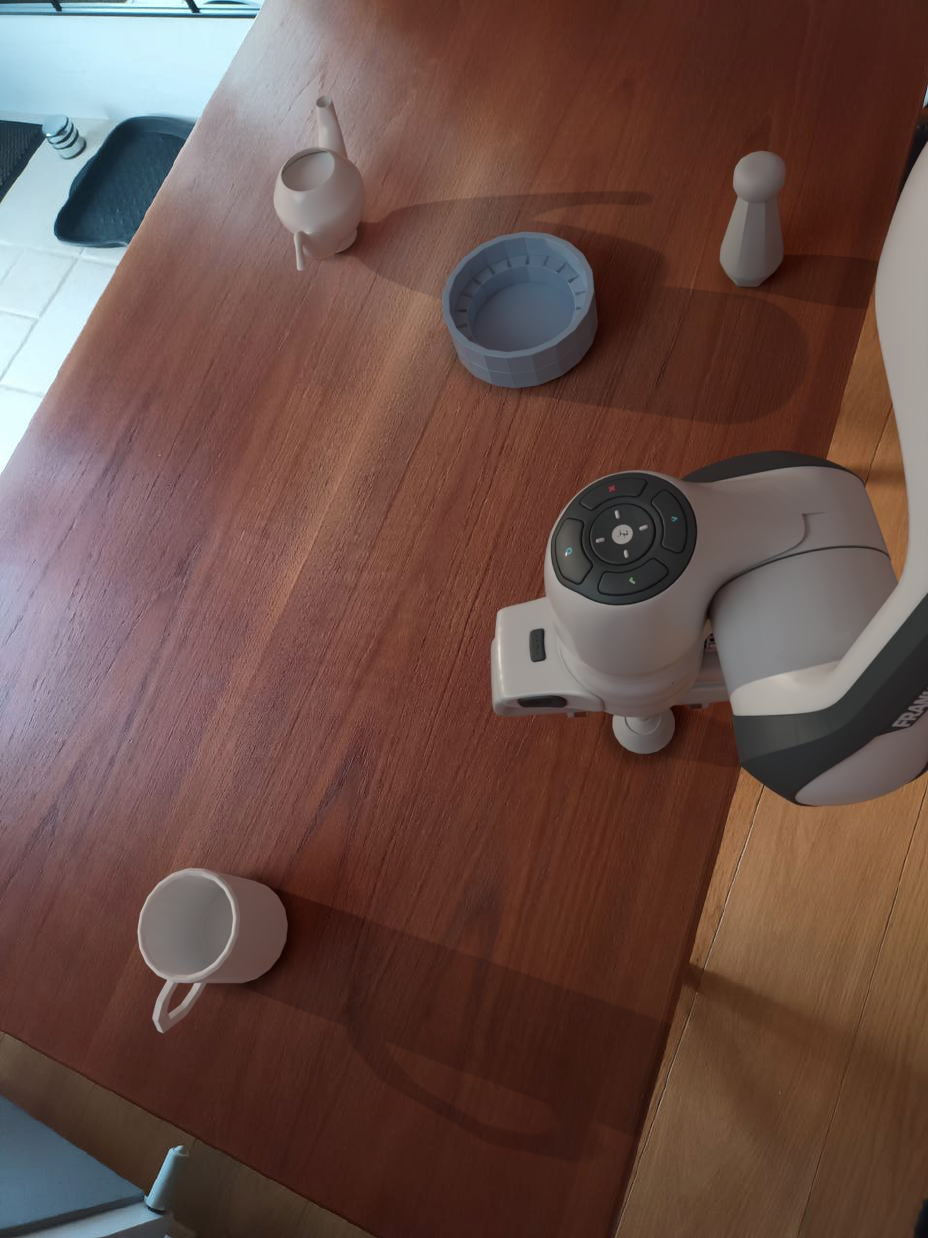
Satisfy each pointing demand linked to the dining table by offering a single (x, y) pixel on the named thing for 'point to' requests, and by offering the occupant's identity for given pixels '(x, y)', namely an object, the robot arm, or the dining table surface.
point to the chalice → (644, 731)
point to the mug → (208, 934)
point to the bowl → (521, 309)
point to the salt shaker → (754, 221)
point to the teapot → (320, 192)
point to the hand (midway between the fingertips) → (636, 703)
